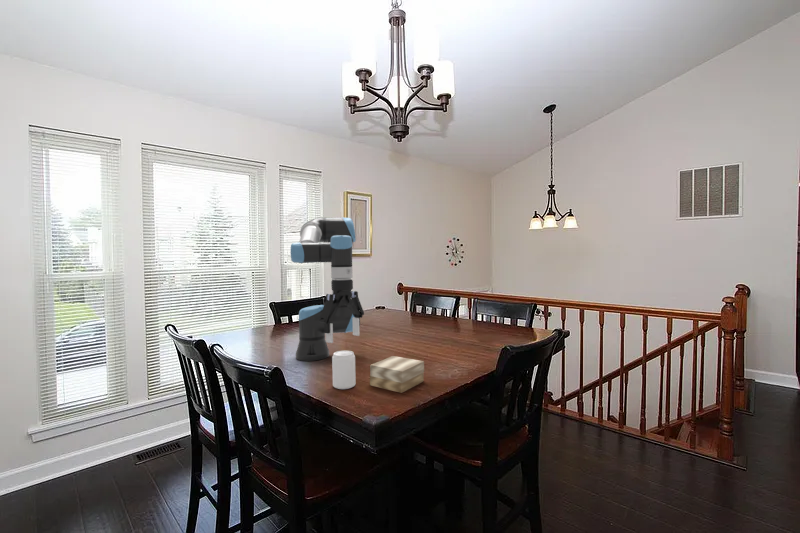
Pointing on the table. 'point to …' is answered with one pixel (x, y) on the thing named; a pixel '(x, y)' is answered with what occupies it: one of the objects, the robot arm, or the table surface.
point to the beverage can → (343, 369)
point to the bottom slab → (396, 383)
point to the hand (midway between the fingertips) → (343, 338)
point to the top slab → (397, 369)
